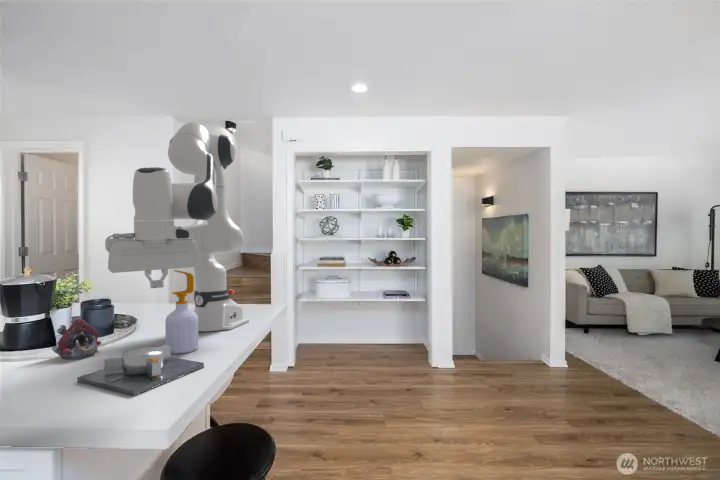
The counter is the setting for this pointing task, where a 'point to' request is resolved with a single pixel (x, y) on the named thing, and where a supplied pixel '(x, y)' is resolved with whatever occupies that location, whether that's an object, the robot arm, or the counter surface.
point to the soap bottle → (182, 322)
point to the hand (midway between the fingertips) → (156, 287)
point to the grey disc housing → (139, 361)
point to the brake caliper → (77, 341)
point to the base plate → (139, 377)
